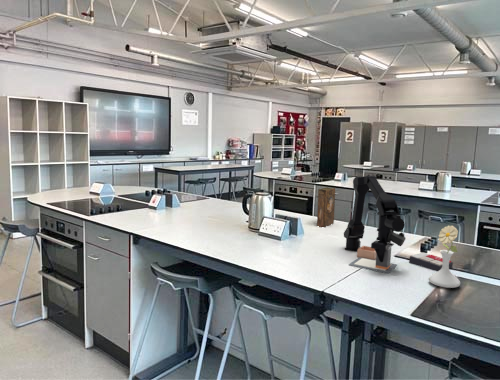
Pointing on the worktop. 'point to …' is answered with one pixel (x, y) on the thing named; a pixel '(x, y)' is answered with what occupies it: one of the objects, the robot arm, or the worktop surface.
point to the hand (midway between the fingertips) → (383, 260)
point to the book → (325, 207)
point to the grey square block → (386, 260)
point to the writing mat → (370, 265)
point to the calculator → (428, 261)
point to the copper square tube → (366, 252)
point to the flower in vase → (446, 260)
